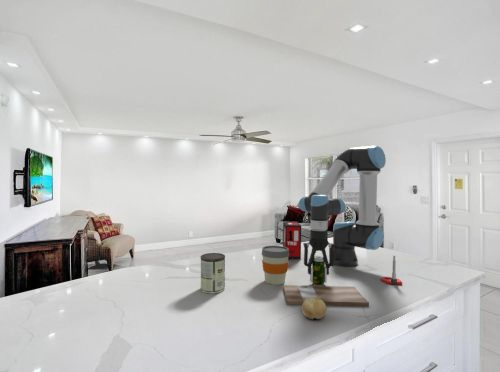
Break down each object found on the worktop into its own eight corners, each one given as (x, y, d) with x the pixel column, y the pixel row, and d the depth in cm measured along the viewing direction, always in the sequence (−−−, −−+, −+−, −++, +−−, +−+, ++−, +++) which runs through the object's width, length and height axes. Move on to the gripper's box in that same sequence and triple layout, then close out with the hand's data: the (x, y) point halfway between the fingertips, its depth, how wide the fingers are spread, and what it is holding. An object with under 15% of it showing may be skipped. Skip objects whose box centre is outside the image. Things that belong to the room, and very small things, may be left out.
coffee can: (207, 283, 129) (207, 251, 128) (228, 286, 125) (229, 254, 125) (195, 291, 119) (195, 257, 119) (218, 295, 116) (218, 260, 115)
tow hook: (378, 278, 140) (384, 284, 130) (379, 251, 140) (384, 255, 131) (397, 279, 138) (404, 285, 129) (397, 252, 139) (404, 256, 130)
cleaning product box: (282, 252, 187) (283, 221, 186) (296, 252, 186) (297, 221, 186) (285, 259, 170) (286, 225, 170) (300, 259, 170) (301, 225, 170)
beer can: (315, 281, 133) (315, 255, 133) (326, 284, 129) (326, 257, 129) (309, 284, 129) (310, 257, 129) (320, 287, 125) (321, 259, 125)
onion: (321, 325, 93) (321, 303, 93) (298, 318, 97) (298, 297, 97) (328, 315, 100) (329, 294, 99) (306, 309, 104) (307, 290, 104)
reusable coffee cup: (292, 279, 136) (292, 247, 135) (283, 288, 124) (284, 253, 124) (267, 275, 141) (267, 244, 141) (256, 283, 130) (257, 249, 129)
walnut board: (283, 288, 123) (283, 284, 123) (354, 290, 123) (354, 286, 123) (287, 304, 108) (287, 300, 107) (368, 306, 107) (369, 301, 107)
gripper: (299, 230, 125) (298, 284, 126) (342, 231, 125) (341, 285, 125) (297, 227, 133) (296, 278, 133) (337, 228, 132) (336, 279, 133)
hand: (318, 281), depth 129 cm, fingers closed on beer can, 5 cm apart
